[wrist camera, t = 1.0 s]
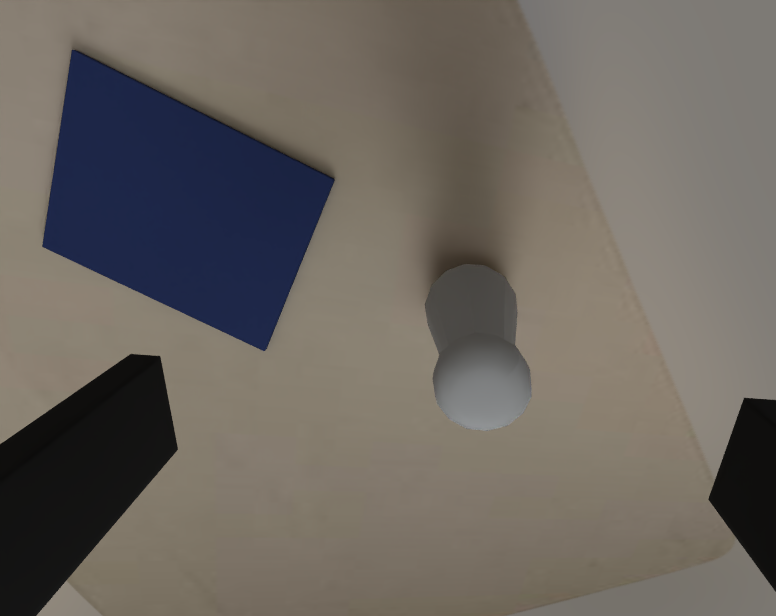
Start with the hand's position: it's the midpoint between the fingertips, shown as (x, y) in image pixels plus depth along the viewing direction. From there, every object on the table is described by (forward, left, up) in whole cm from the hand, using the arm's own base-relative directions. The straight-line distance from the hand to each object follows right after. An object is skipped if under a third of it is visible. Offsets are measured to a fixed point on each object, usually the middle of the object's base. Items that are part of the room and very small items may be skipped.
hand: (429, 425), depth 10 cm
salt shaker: (+3, +4, -21) cm, 21 cm away
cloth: (+7, -17, -21) cm, 27 cm away
